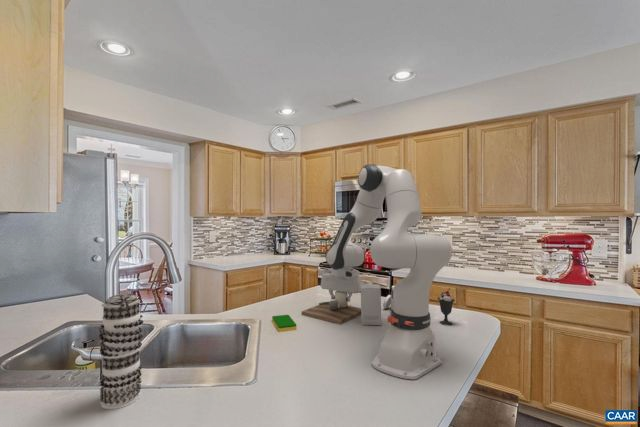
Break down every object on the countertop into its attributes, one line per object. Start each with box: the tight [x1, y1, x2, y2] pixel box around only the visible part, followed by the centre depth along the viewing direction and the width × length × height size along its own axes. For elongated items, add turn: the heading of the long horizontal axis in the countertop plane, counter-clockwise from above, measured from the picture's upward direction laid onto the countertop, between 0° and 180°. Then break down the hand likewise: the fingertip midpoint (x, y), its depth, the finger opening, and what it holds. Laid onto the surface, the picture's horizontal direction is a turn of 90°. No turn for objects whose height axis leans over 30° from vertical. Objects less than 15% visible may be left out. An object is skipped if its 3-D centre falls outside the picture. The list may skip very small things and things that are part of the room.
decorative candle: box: [98, 293, 144, 410], centre depth 78 cm, size 9×9×25 cm
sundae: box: [437, 287, 456, 326], centre depth 132 cm, size 7×7×15 cm
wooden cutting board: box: [301, 301, 361, 325], centre depth 145 cm, size 21×21×2 cm
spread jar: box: [382, 285, 395, 312], centre depth 149 cm, size 12×11×12 cm
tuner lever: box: [329, 290, 349, 310], centre depth 148 cm, size 11×6×6 cm, turn 145°
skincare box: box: [360, 283, 382, 326], centre depth 132 cm, size 8×7×16 cm
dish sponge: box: [271, 314, 297, 333], centre depth 130 cm, size 7×14×2 cm, turn 19°
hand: (340, 300), depth 150 cm, fingers open, 6 cm apart
